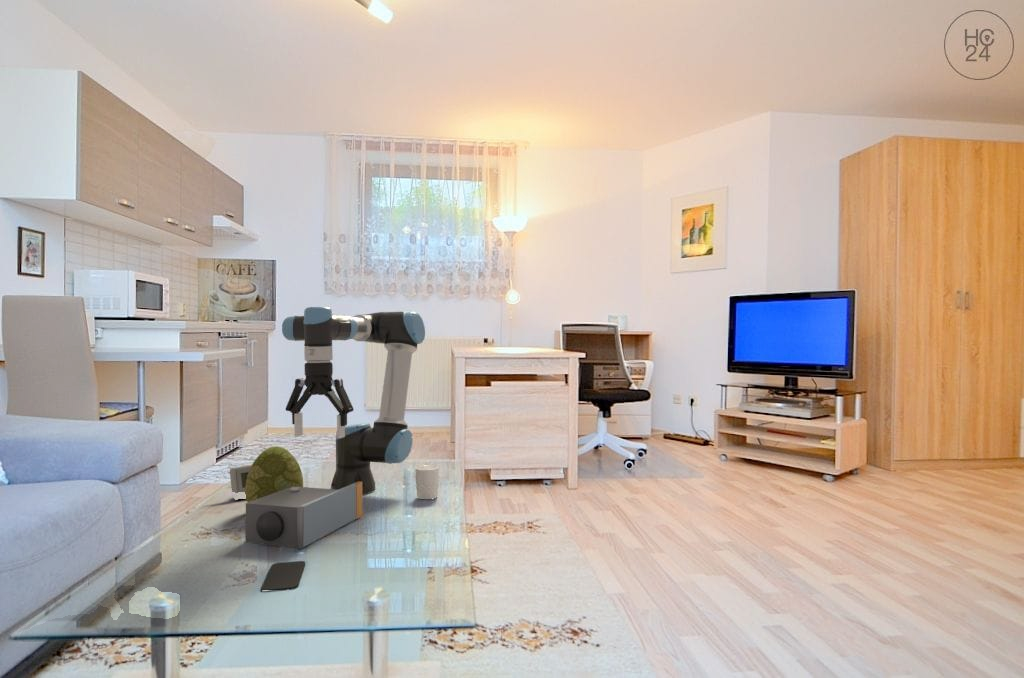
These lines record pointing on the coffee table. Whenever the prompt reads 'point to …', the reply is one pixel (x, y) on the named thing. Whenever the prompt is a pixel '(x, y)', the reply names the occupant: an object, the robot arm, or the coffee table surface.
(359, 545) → the coffee table surface
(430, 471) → the white cup
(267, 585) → the phone
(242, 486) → the digital clock
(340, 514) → the side door
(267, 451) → the decorative sculpture
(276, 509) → the camera body
